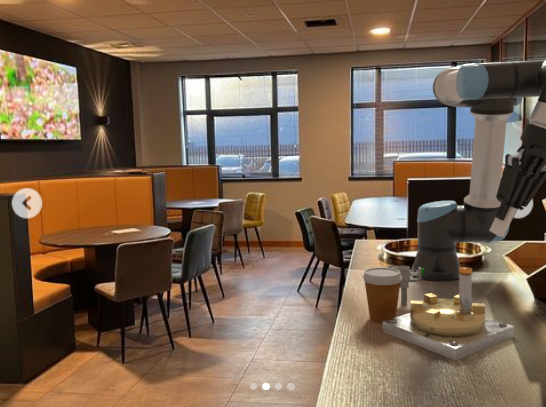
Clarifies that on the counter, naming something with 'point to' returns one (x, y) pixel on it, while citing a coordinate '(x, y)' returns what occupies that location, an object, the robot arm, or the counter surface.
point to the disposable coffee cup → (382, 292)
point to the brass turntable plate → (450, 311)
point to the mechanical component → (407, 279)
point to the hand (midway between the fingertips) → (496, 233)
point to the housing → (449, 337)
